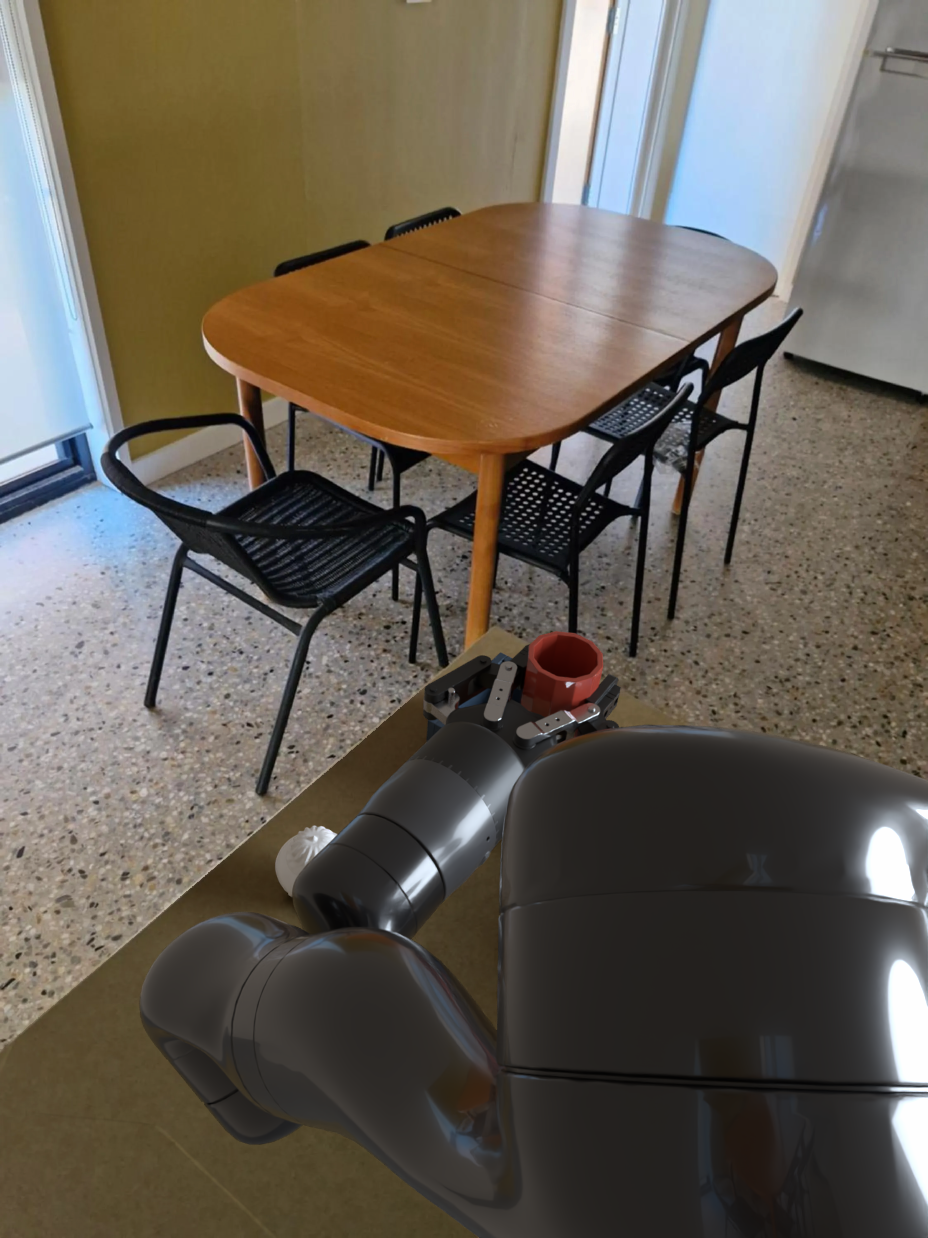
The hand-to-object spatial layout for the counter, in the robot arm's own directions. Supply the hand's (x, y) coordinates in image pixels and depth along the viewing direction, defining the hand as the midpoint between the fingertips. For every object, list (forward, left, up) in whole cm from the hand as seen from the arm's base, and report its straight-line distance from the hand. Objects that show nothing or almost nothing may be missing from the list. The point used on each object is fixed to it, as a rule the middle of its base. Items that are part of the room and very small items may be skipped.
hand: (576, 667), depth 65 cm
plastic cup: (0, +3, -6) cm, 7 cm away
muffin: (+11, +17, -19) cm, 28 cm away
